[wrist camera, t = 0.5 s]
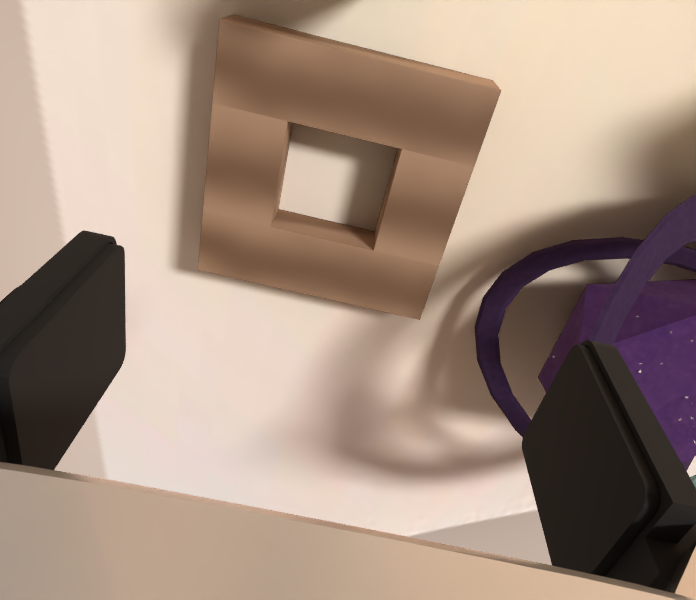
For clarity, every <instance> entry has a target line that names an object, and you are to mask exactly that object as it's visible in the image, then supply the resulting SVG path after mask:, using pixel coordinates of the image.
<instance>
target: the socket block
mask: <svg viewBox="0 0 696 600" xmlns="http://www.w3.org/2000/svg"><path fill="white" fill-rule="evenodd" d="M500 93H501V90H500V89H499V87H498V86H497V85H496V84H495V83H494V81H493V80H489V79H485V78H481V77H477V76H473V75H469V74H465V73H461V72H457V71H453V70H449V69H445V68H441V67H437V66H434V65H430V64H426V63H422V62H418V61H414V60H410V59H406V58H402V57H398V56H394V55H390V54H386V53H382V52H378V51H374V50H370V49H367V48H363V47H359V46H355V45H351V44H347V43H343V42H339V41H335V40H331V39H327V38H323V37H319V36H315V35H311V34H307V33H303V32H300V31H296V30H292V29H288V28H284V27H280V26H276V25H272V24H268V23H264V22H260V21H256V20H252V19H248V18H244V17H240V16H236V15H231V16H228V17H225V18H222V19H220V20H219V32H218V43H217V55H216V66H215V78H214V89H213V101H212V112H211V124H210V135H209V147H208V158H207V170H206V181H205V192H204V204H203V215H202V227H201V238H200V250H199V261H198V270H201V271H206V272H210V273H215V274H219V275H224V276H228V277H233V278H237V279H241V280H246V281H250V282H255V283H259V284H264V285H268V286H272V287H277V288H281V289H286V290H290V291H295V292H299V293H304V294H308V295H312V296H317V297H321V298H326V299H330V300H335V301H339V302H344V303H348V304H352V305H357V306H361V307H366V308H370V309H375V310H379V311H384V312H388V313H392V314H397V315H401V316H406V317H410V318H415V319H419V320H420V317H421V315H422V312H423V309H424V306H425V303H426V301H427V298H428V295H429V292H430V289H431V286H432V284H433V281H434V278H435V275H436V272H437V270H438V267H439V264H440V261H441V258H442V256H443V253H444V250H445V247H446V244H447V242H448V239H449V236H450V233H451V230H452V227H453V225H454V222H455V219H456V216H457V213H458V211H459V208H460V205H461V202H462V199H463V197H464V194H465V191H466V188H467V185H468V182H469V180H470V177H471V174H472V171H473V168H474V166H475V163H476V160H477V157H478V154H479V152H480V149H481V146H482V143H483V140H484V137H485V135H486V132H487V129H488V126H489V123H490V121H491V118H492V115H493V112H494V109H495V107H496V104H497V101H498V98H499V95H500ZM293 123H297V124H301V125H305V126H309V127H313V128H317V129H321V130H325V131H329V132H334V133H338V134H342V135H346V136H350V137H354V138H358V139H362V140H366V141H370V142H375V143H379V144H383V145H387V146H391V147H395V148H398V149H397V153H396V156H395V160H394V164H393V167H392V171H391V175H390V178H389V182H388V186H387V189H386V193H385V197H384V200H383V204H382V208H381V211H380V215H379V219H378V222H377V226H376V229H375V232H374V231H370V230H365V229H361V228H357V227H353V226H348V225H344V224H340V223H335V222H331V221H327V220H323V219H318V218H314V217H310V216H306V215H301V214H297V213H293V212H288V211H284V210H280V209H279V203H280V197H281V191H282V185H283V179H284V173H285V167H286V161H287V155H288V148H289V142H290V136H291V130H292V124H293Z"/></svg>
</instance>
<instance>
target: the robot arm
mask: <svg viewBox="0 0 696 600" xmlns="http://www.w3.org/2000/svg"><path fill="white" fill-rule="evenodd" d="M125 352H126V334H125V253H124V248H123V247H122V246H119V245H117V244H116V240H115V238H114V237H112V236H107V235H103V234H98V233H93V232H89V231H82V232H80V233H79V234H78V235H77V236H75V237H74V238H73V239H72V240H71V241H70V242H69V243H68V244H67V245H65V246H64V247H63V248H62V249H61V250H60V251H59V252H58V253H57V254H55V255H54V256H53V257H52V258H51V259H50V260H49V261H48V262H46V264H44V265H43V266H42V267H41V268H40V269H39V270H38V271H37V272H36V273H34V274H33V275H32V276H31V277H30V278H29V279H28V280H26V281H25V282H24V283H23V284H22V285H20V286H19V287H17V288H16V289H14V290H13V291H12V292H11V293H10V294H9V295H7V296H6V297H5V298H4V299H3V300H2V301H1V302H0V600H696V487H695V486H694V484H693V482H692V480H691V479H690V477H689V475H688V473H687V472H686V470H685V468H684V466H683V464H682V463H681V461H680V459H679V457H678V456H677V454H676V452H675V450H674V448H673V447H672V445H671V443H670V441H669V440H668V438H667V436H666V434H665V432H664V431H663V429H662V427H661V425H660V424H659V422H658V420H657V418H656V416H655V415H654V413H653V411H652V409H651V408H650V406H649V404H648V402H647V400H646V399H645V397H644V395H643V393H642V392H641V390H640V388H639V386H638V384H637V383H636V381H635V379H634V377H633V376H632V374H631V372H630V370H629V369H628V367H627V365H626V363H625V361H624V360H623V358H622V356H621V354H620V353H619V351H618V349H617V348H616V347H615V346H613V345H609V344H604V343H599V342H595V341H590V340H585V341H583V342H582V343H581V344H580V345H574V346H573V347H572V348H571V349H570V351H569V353H568V354H567V356H566V358H565V360H564V362H563V364H562V365H561V367H560V369H559V371H558V373H557V375H556V376H555V378H554V380H553V382H552V384H551V386H550V387H549V389H548V391H547V393H546V395H545V397H544V398H543V400H542V402H541V404H540V406H539V408H538V409H537V411H536V413H535V415H534V417H533V419H532V420H531V422H530V424H529V426H528V428H527V430H526V431H525V434H524V436H523V441H522V450H523V454H524V458H525V462H526V466H527V470H528V473H529V477H530V481H531V485H532V489H533V493H534V497H535V501H536V504H537V508H538V512H539V516H540V520H541V523H542V528H543V531H544V535H545V539H546V543H547V547H548V551H549V555H550V558H551V562H552V565H547V564H542V563H537V562H532V561H527V560H522V559H516V558H512V557H506V556H501V555H496V554H491V553H486V552H481V551H476V550H471V549H466V548H461V547H456V546H451V545H446V544H441V543H436V542H431V541H426V540H421V539H416V538H411V537H406V536H401V535H396V534H391V533H386V532H380V531H375V530H370V529H365V528H360V527H355V526H350V525H345V524H339V523H334V522H329V521H324V520H319V519H314V518H308V517H303V516H298V515H293V514H288V513H282V512H277V511H272V510H267V509H262V508H257V507H251V506H246V505H241V504H235V503H230V502H225V501H219V500H214V499H209V498H203V497H198V496H193V495H188V494H182V493H177V492H172V491H166V490H161V489H156V488H150V487H145V486H140V485H134V484H129V483H124V482H118V481H113V480H107V479H101V478H95V477H90V476H84V475H78V474H72V473H66V472H61V471H55V470H54V469H55V467H56V466H57V464H58V463H59V461H60V460H61V458H62V456H63V455H64V454H65V452H66V450H67V449H68V447H69V446H70V444H71V443H72V441H73V440H74V438H75V437H76V435H77V434H78V432H79V431H80V429H81V427H82V426H83V425H84V423H85V422H86V420H87V418H88V417H89V415H90V414H91V412H92V411H93V409H94V408H95V406H96V405H97V403H98V402H99V400H100V399H101V397H102V396H103V394H104V393H105V391H106V389H107V388H108V386H109V385H110V383H111V382H112V380H113V379H114V377H115V376H116V374H117V373H118V371H119V370H120V368H121V366H122V364H123V361H124V358H125Z"/></svg>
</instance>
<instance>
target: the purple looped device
mask: <svg viewBox="0 0 696 600" xmlns="http://www.w3.org/2000/svg"><path fill="white" fill-rule="evenodd" d="M692 242H696V195H693V196H692V197H690V198H689V199H688V200H686V201H685V202H683V203H682V204H680V205H679V206H677V207H676V208H675V209H673V210H672V211H670V212H669V213H667V214H666V216H665V217H664V218H663V219H662V220H661V221H660V222H659V224H658V225H657V226H656V227H655V228H654V229H653V231H652V232H651V233H650V234H649V235H648V236H647V238H646V239H645V240H640V239H632V238H624V237H617V238H601V239H585V240H572V241H569V242H565V243H562V244H559V245H555V246H552V247H549V248H545V249H542V250H539V251H535V252H532V253H531V254H529V255H528V256H526V257H525V258H523V259H521V260H520V261H518V262H517V263H515V264H514V265H512V266H511V267H509V268H508V269H506V270H504V271H503V272H502V273H501V274H500V276H499V277H498V278H497V280H496V281H495V282H494V284H493V285H492V286H491V287H490V289H489V290H488V291H487V293H486V294H485V295H484V297H483V299H482V303H481V306H480V310H479V313H478V317H477V321H476V324H475V338H476V350H477V361H478V363H479V366H480V368H481V371H482V374H483V376H484V379H485V381H486V384H487V386H488V389H489V391H490V394H491V396H492V397H493V399H494V400H495V402H496V403H497V404H498V406H499V407H500V409H501V410H502V412H503V413H504V415H505V416H506V417H507V419H508V420H509V422H510V423H511V425H512V426H513V428H514V429H515V430H516V431H517V432H518V433H519V434H520V435H521V436H522V437H523V436H524V434H525V431H526V430H527V428H528V426H529V424H530V422H531V419H530V418H529V416H528V415H527V414H526V412H525V411H524V409H523V408H522V407H521V405H520V404H519V402H518V401H517V399H516V398H515V397H514V395H513V394H512V391H511V389H510V386H509V384H508V381H507V379H506V376H505V374H504V371H503V368H502V366H501V363H500V350H499V338H498V334H499V331H500V327H501V324H502V320H503V317H504V313H505V310H506V308H507V307H508V305H509V304H510V303H511V301H512V300H513V299H514V298H515V296H516V295H517V294H518V293H519V291H520V290H521V289H522V287H524V286H525V285H527V284H528V283H530V282H532V281H533V280H535V279H536V278H538V277H540V276H541V275H543V274H544V273H546V272H548V271H549V270H552V269H556V268H559V267H563V266H567V265H570V264H574V263H577V262H581V261H584V260H604V259H625V258H628V259H630V261H629V262H628V264H627V265H626V267H625V269H624V270H623V272H622V274H621V275H620V277H619V278H618V280H617V282H616V283H606V284H587V286H586V287H585V289H584V291H583V293H582V295H581V297H580V299H579V301H578V302H577V304H576V306H575V308H574V310H573V312H572V314H571V316H570V318H569V319H568V321H567V323H566V325H565V327H564V329H563V331H562V333H561V335H560V336H559V338H558V340H557V342H556V344H555V346H554V348H553V350H552V351H551V353H550V355H549V357H548V359H547V361H546V363H545V365H544V367H543V368H542V370H541V372H540V374H539V376H538V378H539V380H540V382H541V384H542V385H543V387H544V389H545V391H546V393H547V391H548V389H549V387H550V386H551V384H552V382H553V380H554V378H555V376H556V375H557V373H558V371H559V369H560V367H561V365H562V364H563V362H564V360H565V358H566V356H567V354H568V353H569V351H570V349H571V348H572V347H573V346H574V345H580V344H581V343H582V342H583V341H585V340H590V341H595V342H599V343H604V344H609V345H613V346H615V347H616V348H617V349H618V351H619V353H620V354H621V356H622V358H623V360H624V361H625V363H626V365H627V367H628V369H629V370H630V372H631V374H632V376H633V377H634V379H635V381H636V383H637V384H638V386H639V388H640V390H641V392H642V393H643V395H644V397H645V399H646V400H647V402H648V404H649V406H650V408H651V409H652V411H653V413H654V415H655V416H656V418H657V420H658V422H659V424H660V425H661V427H662V429H663V431H664V432H665V434H666V436H667V438H668V440H669V441H670V443H671V445H672V447H673V448H674V450H675V452H676V454H677V456H678V457H679V459H680V461H681V463H682V464H683V466H684V468H685V470H686V471H687V469H688V467H689V465H690V464H691V462H692V460H693V458H694V456H696V279H691V280H670V281H648V280H649V279H650V278H651V277H652V276H653V274H654V273H655V272H656V271H657V270H658V268H659V267H660V266H661V265H662V264H669V265H675V266H678V267H681V268H684V269H687V270H691V271H694V272H696V250H694V249H690V248H687V247H684V245H685V244H688V243H692ZM690 479H691V480H692V482H693V484H694V486H695V487H696V475H694V476H692V477H690Z"/></svg>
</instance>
